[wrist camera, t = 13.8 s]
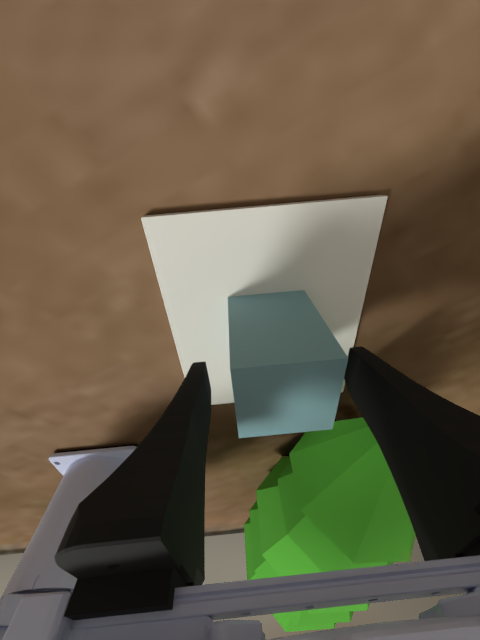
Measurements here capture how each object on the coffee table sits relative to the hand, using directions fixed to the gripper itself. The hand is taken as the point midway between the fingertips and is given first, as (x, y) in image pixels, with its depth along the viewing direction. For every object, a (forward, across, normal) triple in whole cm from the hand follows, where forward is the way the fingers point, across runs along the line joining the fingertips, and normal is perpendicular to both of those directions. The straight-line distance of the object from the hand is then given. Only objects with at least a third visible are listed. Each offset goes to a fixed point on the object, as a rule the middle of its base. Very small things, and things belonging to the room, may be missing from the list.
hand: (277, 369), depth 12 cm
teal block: (+4, 0, 0) cm, 4 cm away
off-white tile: (+4, 0, 0) cm, 4 cm away
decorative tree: (+5, -4, +17) cm, 18 cm away
